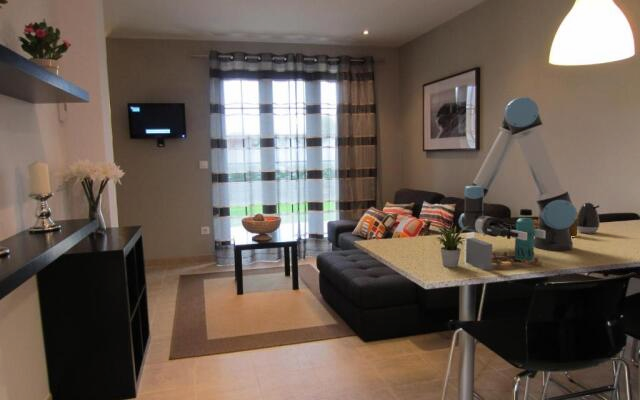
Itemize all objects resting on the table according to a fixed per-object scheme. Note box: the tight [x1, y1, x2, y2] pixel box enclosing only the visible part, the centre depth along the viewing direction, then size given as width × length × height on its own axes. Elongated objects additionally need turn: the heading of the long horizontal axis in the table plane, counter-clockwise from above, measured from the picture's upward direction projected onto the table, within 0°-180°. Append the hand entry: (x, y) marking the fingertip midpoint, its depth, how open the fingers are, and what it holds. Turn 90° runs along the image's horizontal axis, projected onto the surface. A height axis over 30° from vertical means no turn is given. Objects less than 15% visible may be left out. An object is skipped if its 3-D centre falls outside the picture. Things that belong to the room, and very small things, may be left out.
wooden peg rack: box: [492, 251, 543, 271], centre depth 163 cm, size 20×12×3 cm, turn 101°
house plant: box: [432, 222, 468, 268], centre depth 161 cm, size 14×14×16 cm
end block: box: [465, 237, 493, 271], centre depth 160 cm, size 3×12×9 cm, turn 11°
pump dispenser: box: [577, 202, 600, 234], centre depth 222 cm, size 10×10×15 cm
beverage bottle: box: [513, 208, 535, 262], centre depth 163 cm, size 6×7×20 cm
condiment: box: [569, 216, 578, 236], centre depth 214 cm, size 7×8×12 cm
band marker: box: [492, 255, 511, 265], centre depth 162 cm, size 3×12×1 cm, turn 11°
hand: (535, 235), depth 159 cm, fingers open, 8 cm apart
